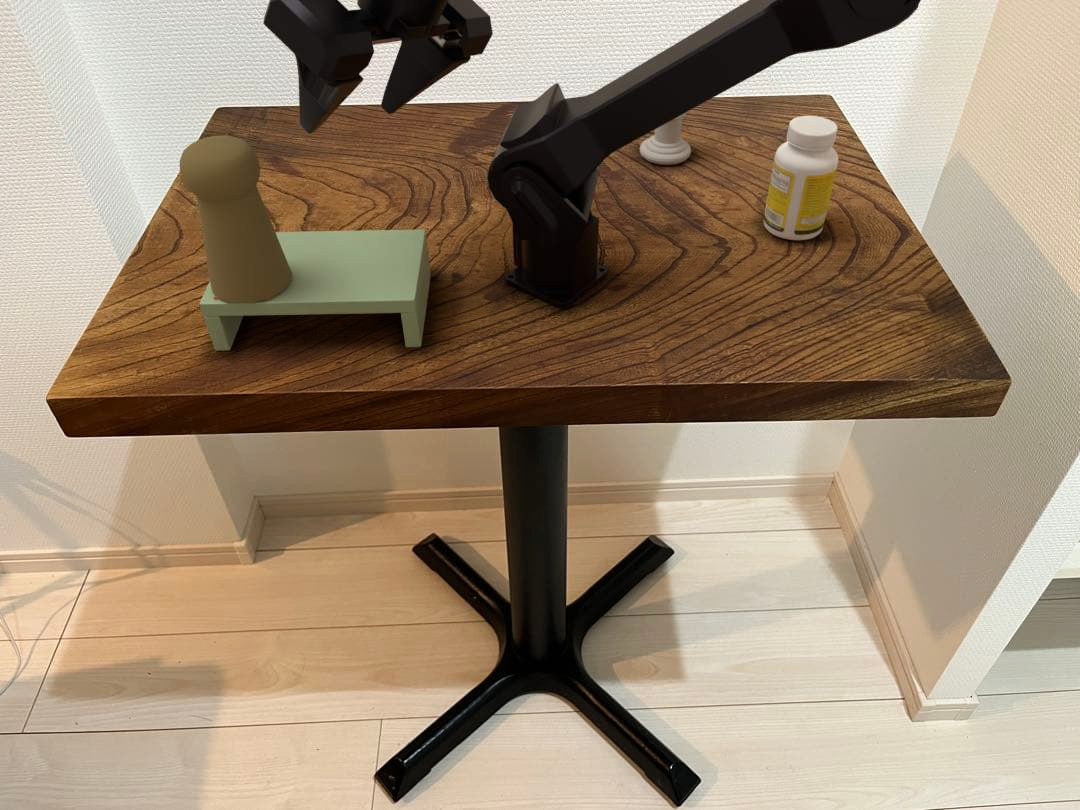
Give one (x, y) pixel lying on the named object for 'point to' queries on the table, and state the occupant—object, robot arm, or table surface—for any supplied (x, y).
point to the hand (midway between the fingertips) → (348, 119)
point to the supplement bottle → (802, 179)
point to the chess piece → (666, 144)
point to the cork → (234, 220)
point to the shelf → (339, 281)
